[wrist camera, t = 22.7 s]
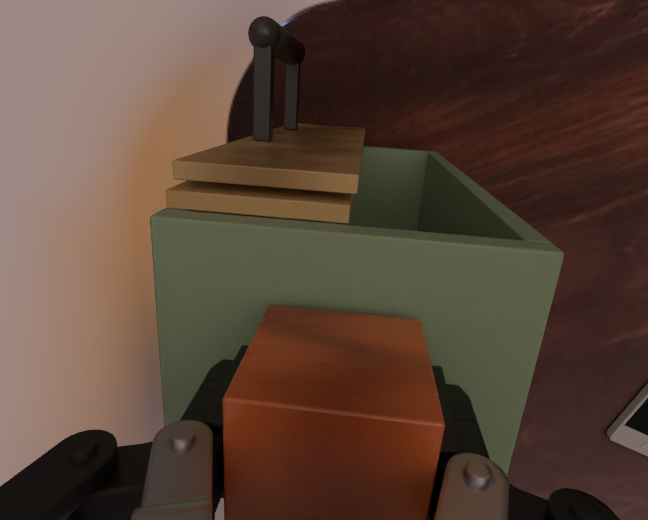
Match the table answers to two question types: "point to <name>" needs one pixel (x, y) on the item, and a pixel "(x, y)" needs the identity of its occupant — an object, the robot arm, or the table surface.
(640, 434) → the smartphone
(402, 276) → the box
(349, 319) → the block
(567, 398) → the table surface
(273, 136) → the door
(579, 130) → the table surface
